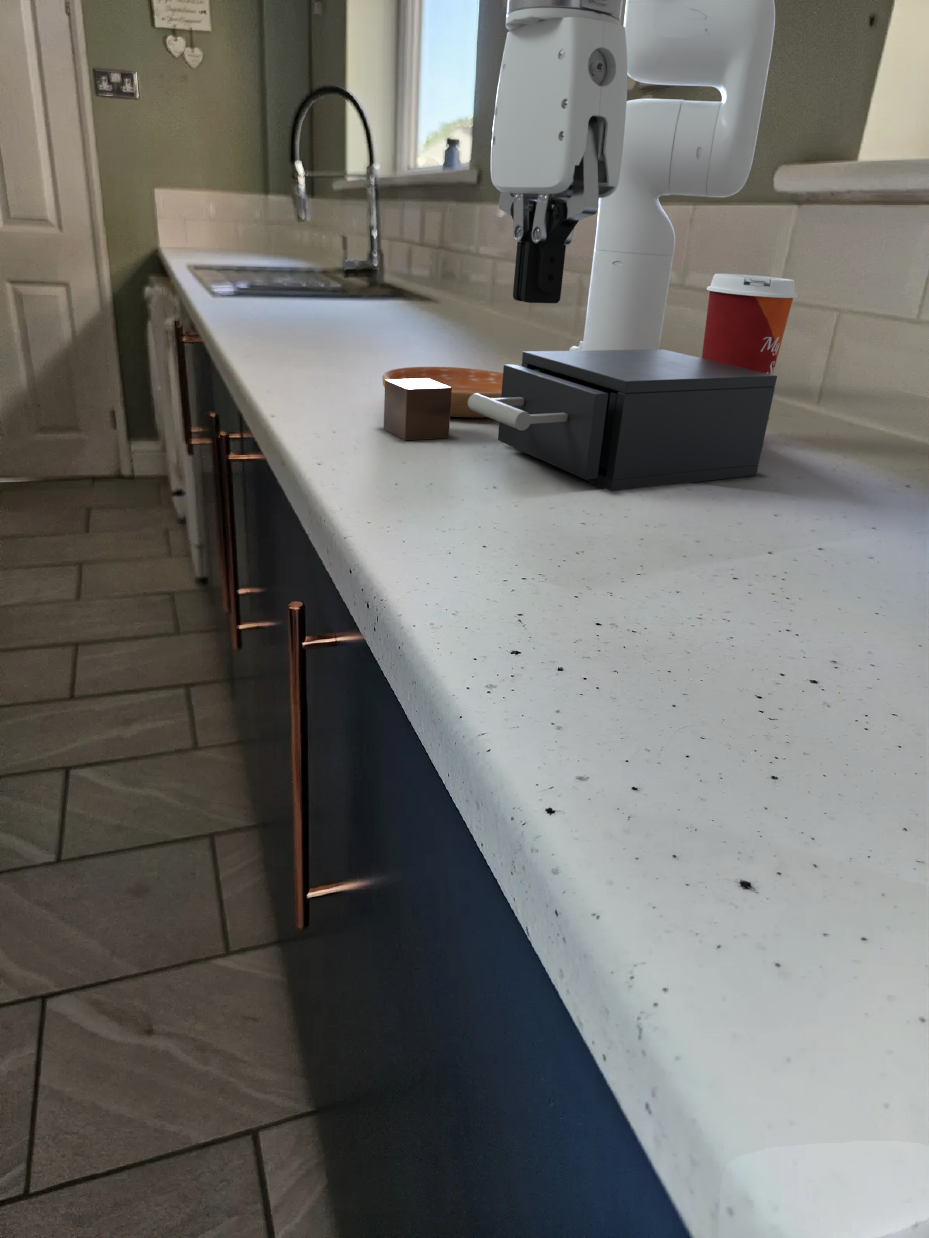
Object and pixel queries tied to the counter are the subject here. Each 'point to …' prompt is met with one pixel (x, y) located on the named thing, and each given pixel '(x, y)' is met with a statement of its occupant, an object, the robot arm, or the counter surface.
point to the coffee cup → (747, 320)
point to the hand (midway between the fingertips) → (536, 301)
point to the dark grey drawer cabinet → (672, 414)
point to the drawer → (553, 418)
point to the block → (417, 409)
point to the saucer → (455, 384)
